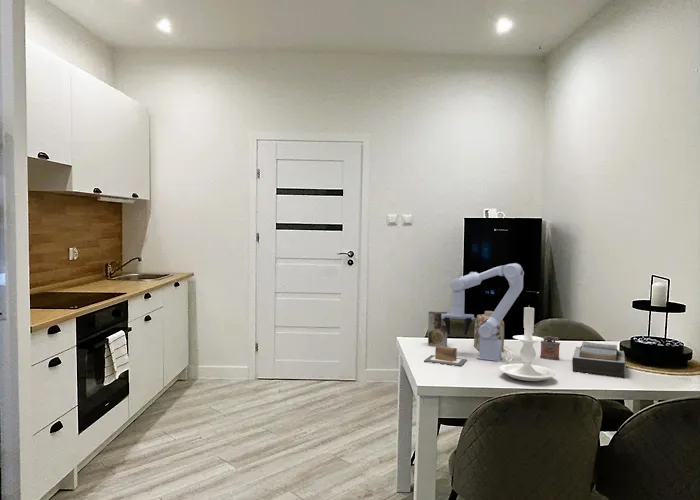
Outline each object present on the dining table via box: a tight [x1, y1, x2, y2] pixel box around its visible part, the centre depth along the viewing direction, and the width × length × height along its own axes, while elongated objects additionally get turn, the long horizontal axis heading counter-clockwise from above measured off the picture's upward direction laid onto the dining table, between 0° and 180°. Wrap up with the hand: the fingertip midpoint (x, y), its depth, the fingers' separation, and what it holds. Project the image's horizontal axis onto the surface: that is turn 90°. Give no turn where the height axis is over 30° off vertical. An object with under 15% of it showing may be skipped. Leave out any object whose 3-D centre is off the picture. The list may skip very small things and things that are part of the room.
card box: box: [434, 346, 458, 362], centre depth 232 cm, size 4×8×5 cm, turn 51°
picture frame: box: [423, 354, 468, 368], centre depth 232 cm, size 16×12×1 cm
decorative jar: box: [473, 310, 505, 353], centre depth 259 cm, size 12×12×18 cm
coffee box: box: [427, 311, 448, 347], centre depth 265 cm, size 9×6×16 cm
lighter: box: [539, 335, 561, 361], centre depth 241 cm, size 8×3×10 cm, turn 62°
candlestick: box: [499, 306, 557, 382], centre depth 209 cm, size 21×25×28 cm
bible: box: [571, 340, 628, 379], centre depth 226 cm, size 23×27×10 cm
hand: (457, 334), depth 247 cm, fingers open, 7 cm apart
